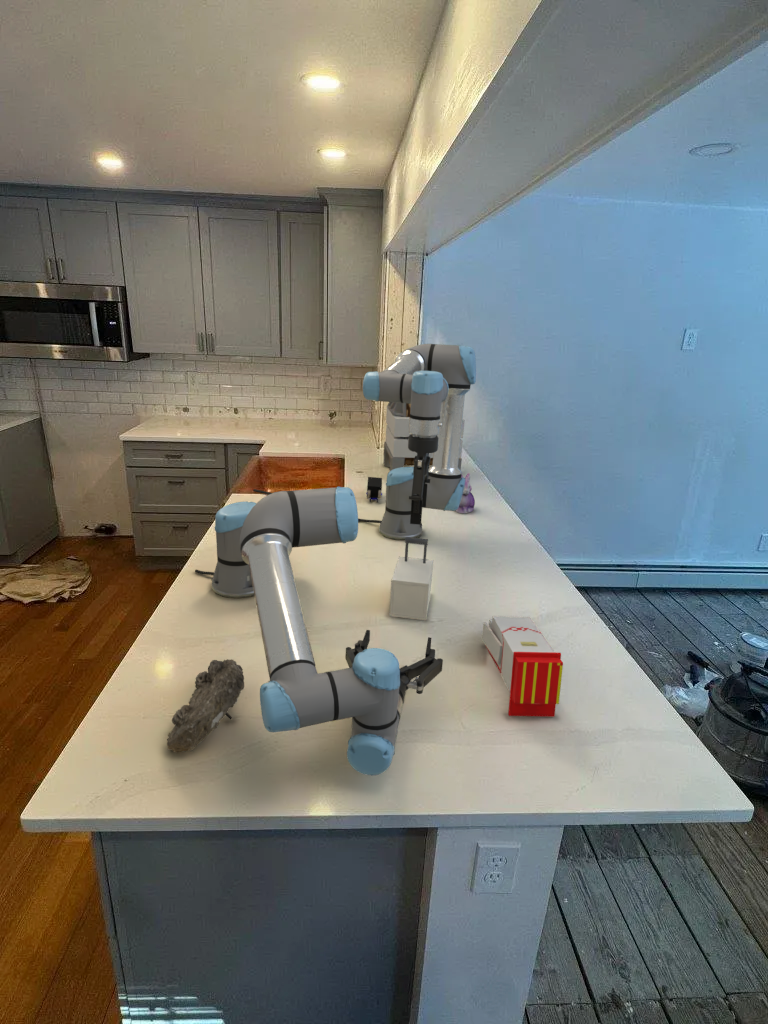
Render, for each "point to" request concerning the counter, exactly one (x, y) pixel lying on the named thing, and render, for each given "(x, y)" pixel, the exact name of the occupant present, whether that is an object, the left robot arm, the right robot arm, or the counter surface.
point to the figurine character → (374, 488)
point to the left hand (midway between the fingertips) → (398, 638)
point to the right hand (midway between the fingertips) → (418, 514)
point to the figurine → (466, 498)
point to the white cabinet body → (410, 600)
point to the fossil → (206, 705)
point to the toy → (525, 665)
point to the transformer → (402, 437)
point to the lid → (413, 566)
